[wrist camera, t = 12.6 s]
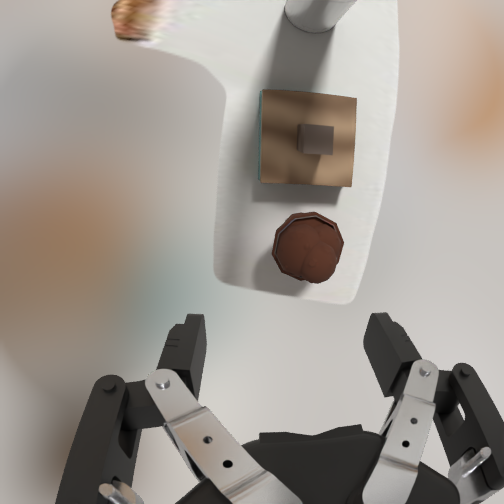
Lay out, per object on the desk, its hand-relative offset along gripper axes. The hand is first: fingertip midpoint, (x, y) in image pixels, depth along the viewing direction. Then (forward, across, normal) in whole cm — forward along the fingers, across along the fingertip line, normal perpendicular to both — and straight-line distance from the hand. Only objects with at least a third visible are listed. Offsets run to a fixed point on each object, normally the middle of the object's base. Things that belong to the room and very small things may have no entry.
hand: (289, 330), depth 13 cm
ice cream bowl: (+38, -7, +8) cm, 40 cm away
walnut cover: (+37, -7, -8) cm, 39 cm away
